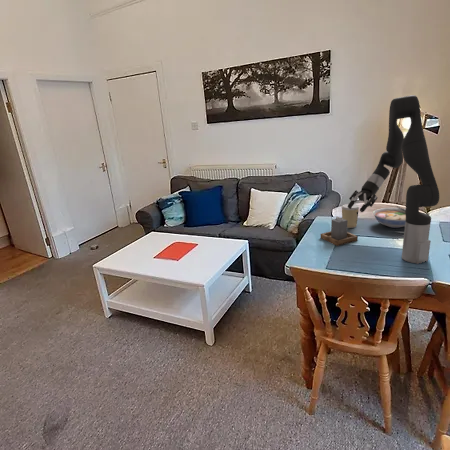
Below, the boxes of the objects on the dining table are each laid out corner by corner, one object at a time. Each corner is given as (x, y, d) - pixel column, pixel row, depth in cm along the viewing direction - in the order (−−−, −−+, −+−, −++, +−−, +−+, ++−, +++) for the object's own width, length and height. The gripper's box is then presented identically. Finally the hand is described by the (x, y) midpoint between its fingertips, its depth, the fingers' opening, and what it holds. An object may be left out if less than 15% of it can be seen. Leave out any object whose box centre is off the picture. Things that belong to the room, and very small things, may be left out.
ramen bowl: (364, 220, 192) (365, 207, 190) (403, 217, 191) (405, 204, 188) (382, 235, 169) (384, 220, 166) (427, 232, 168) (429, 217, 165)
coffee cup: (360, 227, 181) (361, 207, 178) (343, 228, 182) (344, 208, 178) (354, 222, 190) (355, 203, 186) (338, 223, 191) (339, 204, 187)
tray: (357, 240, 165) (357, 236, 164) (337, 246, 160) (337, 241, 160) (339, 233, 176) (340, 229, 175) (320, 238, 172) (320, 233, 171)
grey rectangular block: (346, 238, 167) (347, 217, 163) (338, 240, 165) (339, 219, 161) (339, 235, 171) (340, 215, 168) (331, 237, 170) (331, 217, 166)
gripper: (358, 178, 172) (341, 202, 171) (380, 182, 159) (361, 208, 159) (366, 186, 175) (348, 210, 175) (387, 191, 162) (368, 216, 162)
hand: (354, 209), depth 167 cm, fingers open, 8 cm apart
